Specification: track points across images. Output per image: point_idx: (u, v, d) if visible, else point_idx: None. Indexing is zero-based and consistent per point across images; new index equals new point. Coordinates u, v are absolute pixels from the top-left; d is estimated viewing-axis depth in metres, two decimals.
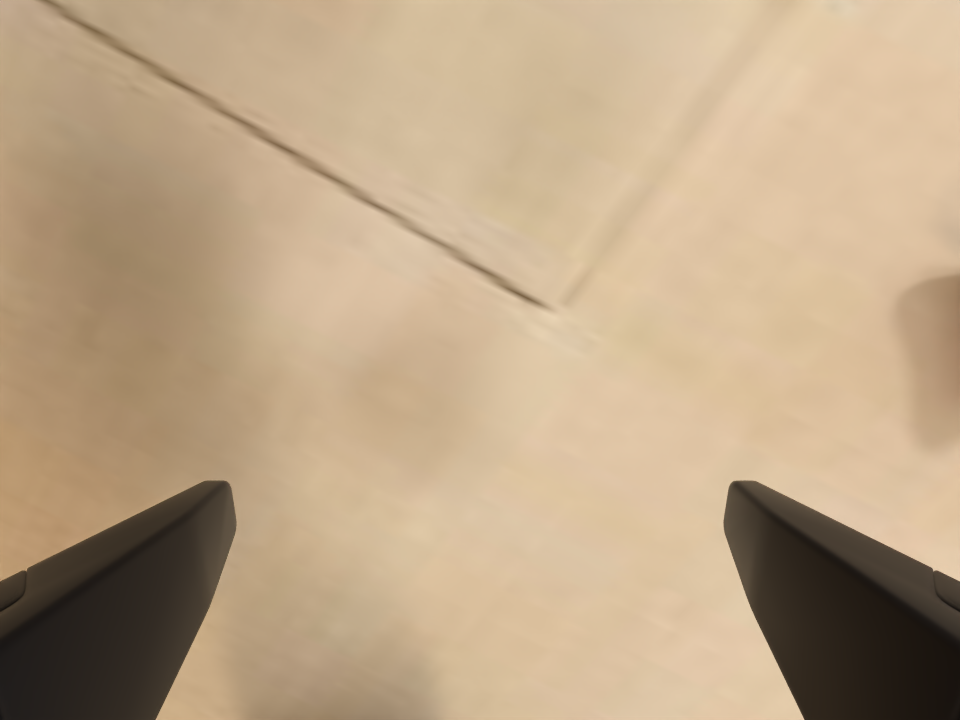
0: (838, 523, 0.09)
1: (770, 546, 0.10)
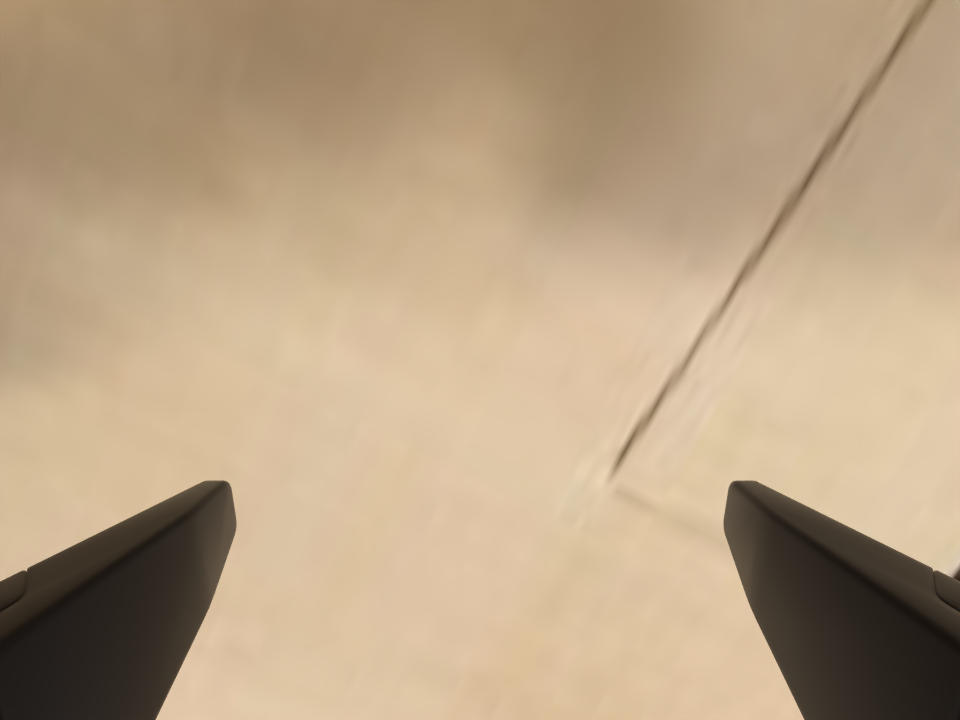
0: (838, 523, 0.09)
1: (770, 546, 0.10)
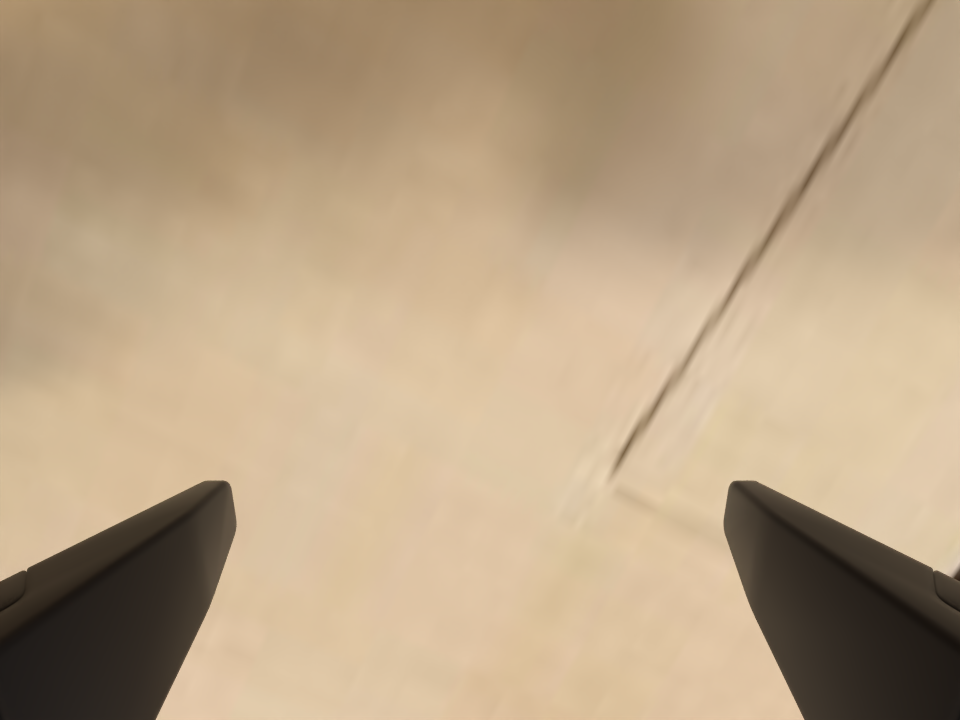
0: (838, 523, 0.09)
1: (770, 546, 0.10)
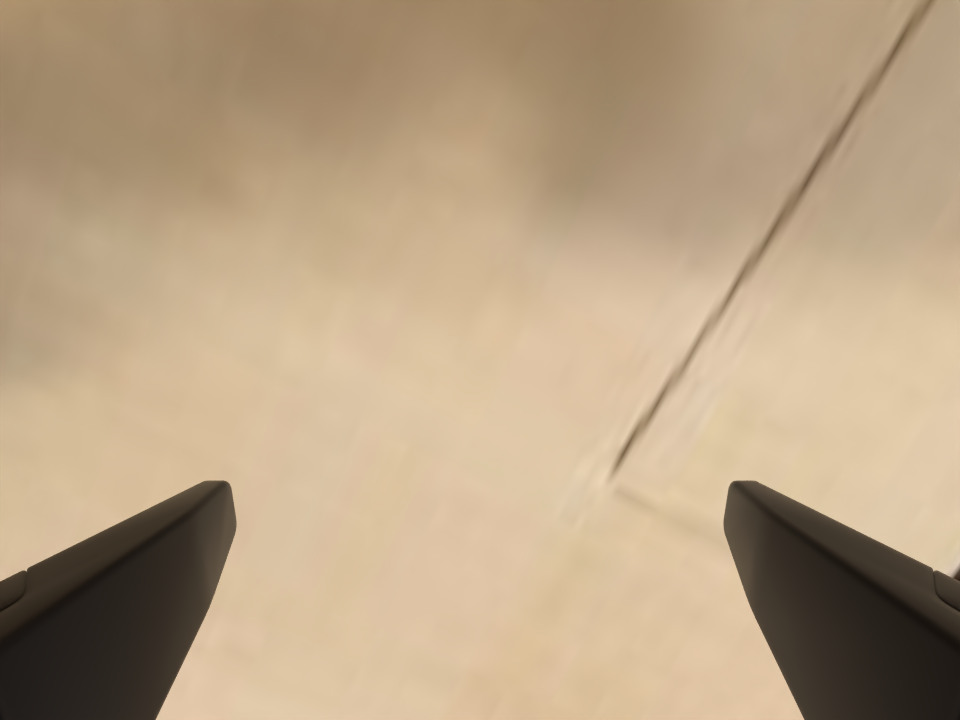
0: (838, 523, 0.09)
1: (770, 546, 0.10)
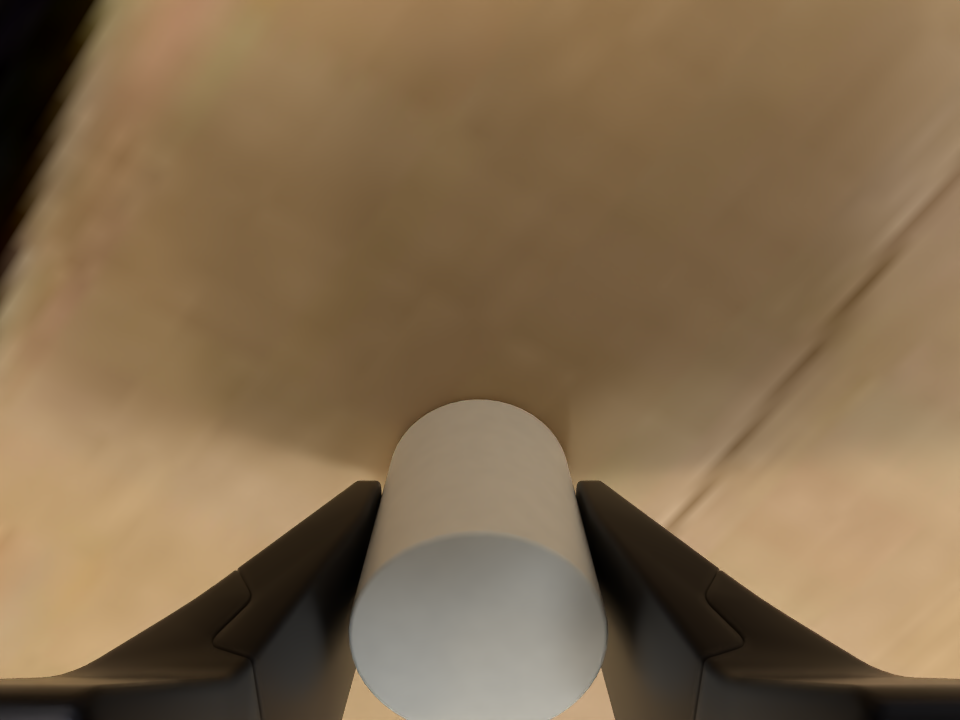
0: (654, 523, 0.09)
1: (594, 546, 0.10)
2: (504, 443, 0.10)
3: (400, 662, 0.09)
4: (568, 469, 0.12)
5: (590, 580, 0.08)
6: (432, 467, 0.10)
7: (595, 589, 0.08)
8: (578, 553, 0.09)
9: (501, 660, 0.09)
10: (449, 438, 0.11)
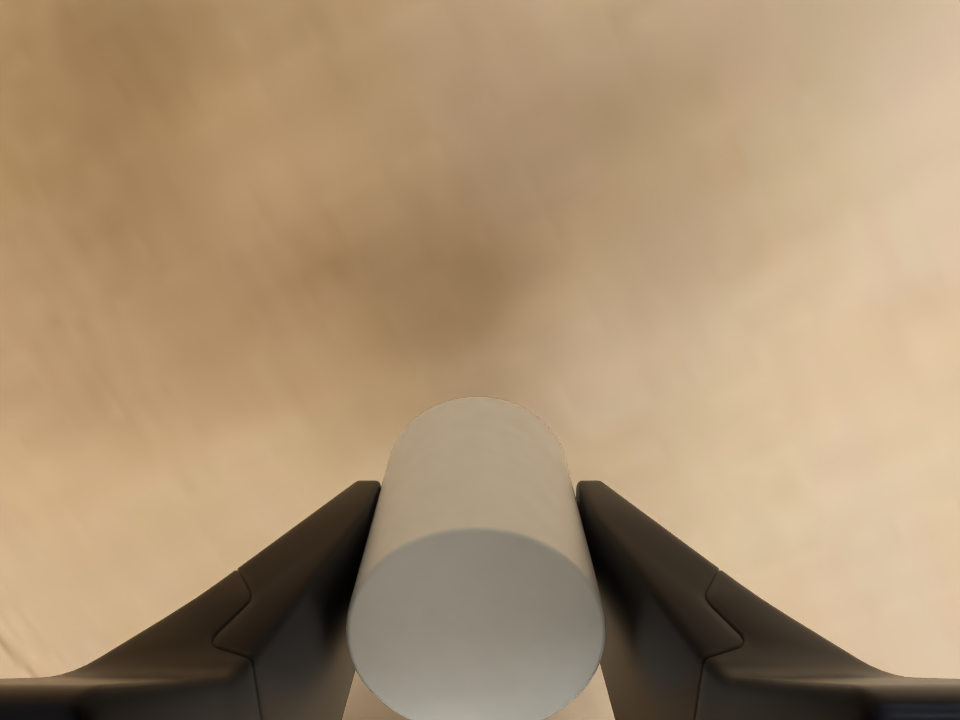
0: (654, 523, 0.09)
1: (594, 546, 0.10)
2: (502, 440, 0.10)
3: (398, 659, 0.09)
4: (566, 466, 0.12)
5: (588, 577, 0.08)
6: (430, 463, 0.10)
7: (593, 586, 0.08)
8: (576, 550, 0.09)
9: (499, 657, 0.09)
10: (447, 435, 0.11)
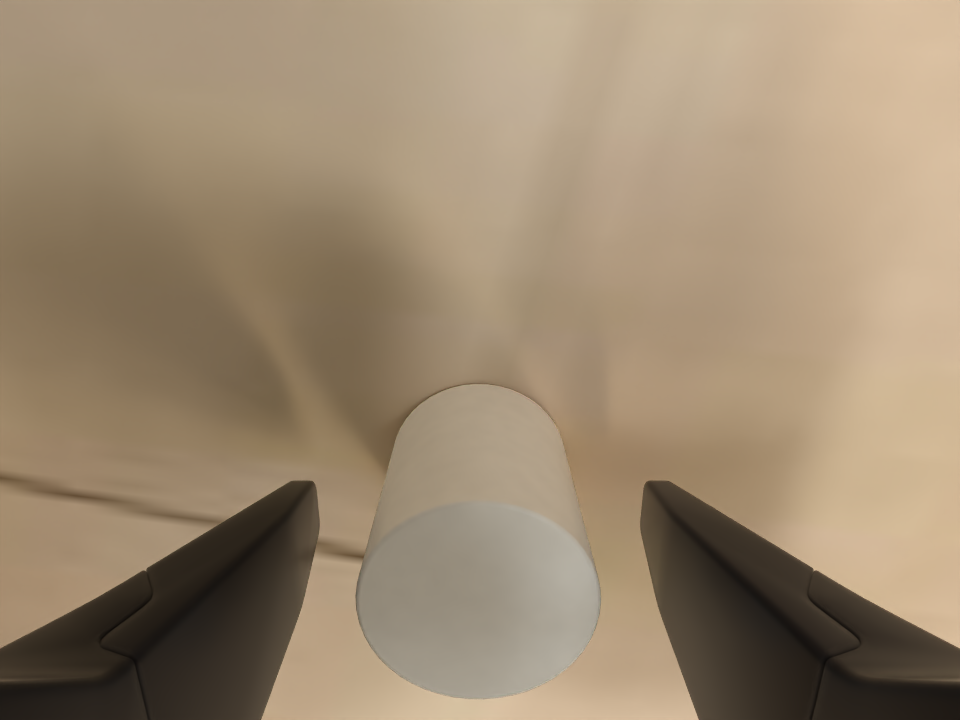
0: (735, 523, 0.09)
1: (671, 546, 0.10)
2: (503, 423, 0.11)
3: (404, 626, 0.09)
4: (564, 450, 0.12)
5: (583, 548, 0.09)
6: (435, 445, 0.10)
7: (588, 556, 0.09)
8: (572, 523, 0.09)
9: (500, 625, 0.09)
10: (450, 419, 0.11)
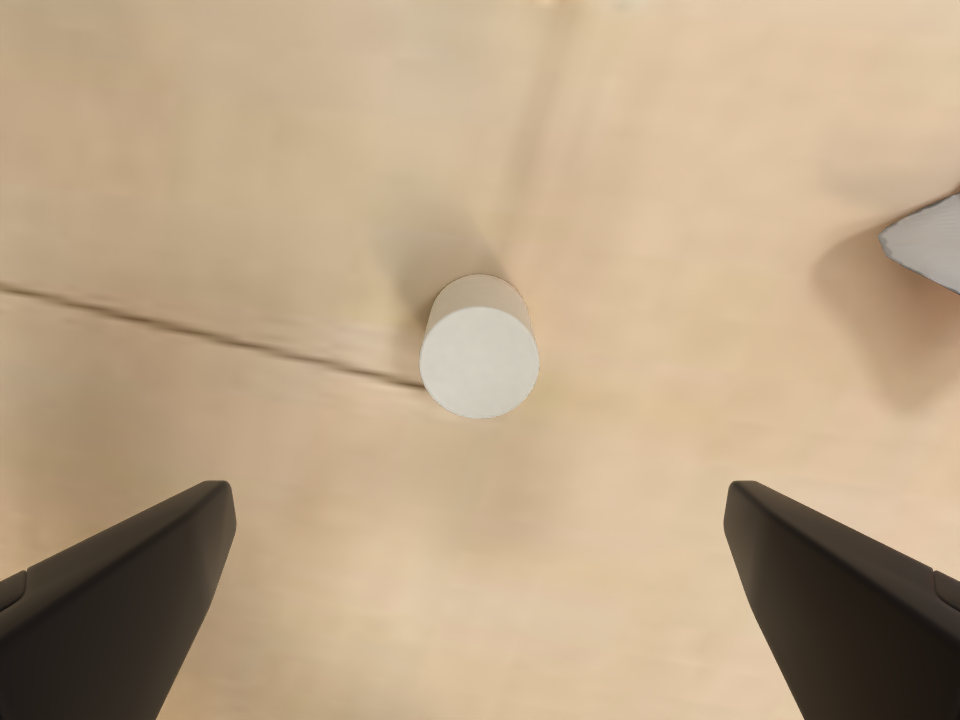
0: (838, 523, 0.09)
1: (770, 546, 0.10)
2: (492, 287, 0.20)
3: (442, 375, 0.19)
4: (527, 311, 0.22)
5: (530, 332, 0.18)
6: (456, 294, 0.20)
7: (532, 336, 0.18)
8: (525, 323, 0.18)
9: (490, 374, 0.19)
10: (464, 286, 0.20)
